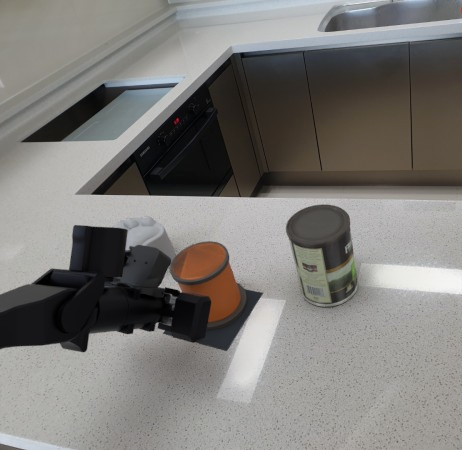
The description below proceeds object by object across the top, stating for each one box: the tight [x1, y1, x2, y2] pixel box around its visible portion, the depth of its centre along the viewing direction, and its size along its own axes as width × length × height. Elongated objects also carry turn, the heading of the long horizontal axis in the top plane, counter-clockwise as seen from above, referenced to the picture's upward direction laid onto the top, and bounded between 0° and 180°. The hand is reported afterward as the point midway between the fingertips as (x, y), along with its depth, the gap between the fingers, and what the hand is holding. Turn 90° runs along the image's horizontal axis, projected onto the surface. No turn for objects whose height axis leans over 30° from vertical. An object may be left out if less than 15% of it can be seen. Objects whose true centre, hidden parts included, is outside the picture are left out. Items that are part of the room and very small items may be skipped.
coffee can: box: [285, 204, 359, 308], centre depth 77 cm, size 10×10×14 cm
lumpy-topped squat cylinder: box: [111, 215, 177, 262], centre depth 94 cm, size 10×13×9 cm
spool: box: [169, 240, 248, 331], centre depth 78 cm, size 11×11×11 cm
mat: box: [162, 288, 264, 351], centre depth 81 cm, size 13×13×1 cm
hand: (186, 305), depth 73 cm, fingers closed
